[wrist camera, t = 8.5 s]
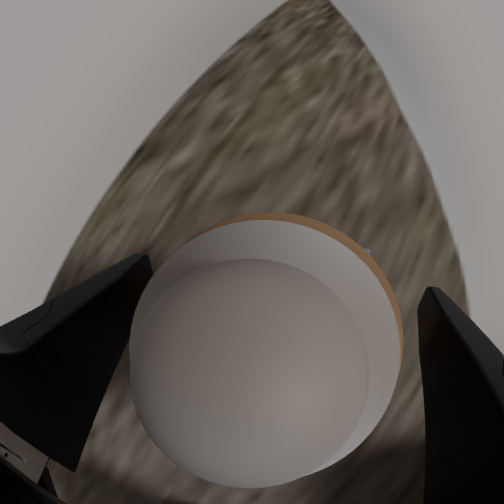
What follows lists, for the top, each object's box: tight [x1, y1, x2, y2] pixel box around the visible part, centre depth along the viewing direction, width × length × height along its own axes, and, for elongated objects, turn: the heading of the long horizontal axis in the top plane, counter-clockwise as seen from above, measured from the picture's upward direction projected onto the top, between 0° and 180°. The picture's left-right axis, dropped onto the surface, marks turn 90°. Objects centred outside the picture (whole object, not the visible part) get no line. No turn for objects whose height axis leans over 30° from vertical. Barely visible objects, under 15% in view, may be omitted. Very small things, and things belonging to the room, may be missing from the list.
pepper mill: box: [129, 212, 403, 488], centre depth 9 cm, size 5×5×15 cm
